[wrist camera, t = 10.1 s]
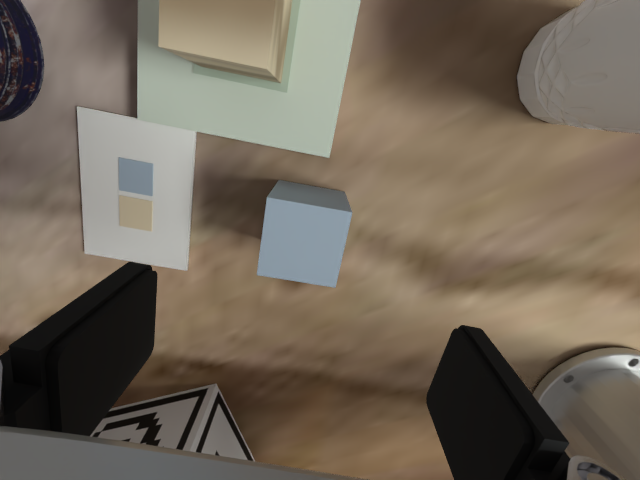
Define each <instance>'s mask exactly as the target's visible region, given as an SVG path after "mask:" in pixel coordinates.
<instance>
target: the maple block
mask: <svg viewBox="0 0 640 480" xmlns="http://www.w3.org/2000/svg"><path fill="white" fill-rule="evenodd" d="M291 7H292V0H159V43H158V47H160V48H163V49H165V50H167V51H169V52H171V53H173V54H176V55H178V56H180V57H182V58H184V59H186V60H188V61H191V62H193V63H195V64H197V65H199V66H201V67H205V68H210V69H215V70H219V71H224V72H229V73H234V74H239V75H244V76H248V77H253V78H258V79H263V80H268V81H273V82H277V83H281V81H282V74H283V67H284V59H285V52H286V44H287V37H288V30H289V22H290V15H291Z"/></svg>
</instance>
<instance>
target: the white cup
mask: <svg viewBox="0 0 640 480" xmlns="http://www.w3.org/2000/svg"><path fill="white" fill-rule="evenodd" d="M517 82H518V90H519V97H520V100H521V102H522V103H523V104H524V106H525V107H526V109H527V110H528V111H529V113H530V114H531V115H532V116H533V117H535V118H538V119H540V120H543V121H545V122H548V123H551V124H559V125H570V126H575V127H580V128H586V129H598V130H604V131H612V132H624V133H635V134H640V0H585V1H584V2H582V3H581V4H580V5H579V6H577V7H575V8H573V9H571V10H569V11H567V12H565V13H564V14H562V15H560V16H559V17H557V18H556V19H554V20H553V21H551V22H550V23H548V24H547V25H545V26H543V27H542V28H541V29H540V30H539V31H538V33H537V34H536V35H535V37H534V38H533V39H532V41H531V42H530V44H529V45H528V46H527V48H526V49H525V50H524V53H523V56H522V60H521V63H520V67H519V70H518V74H517Z"/></svg>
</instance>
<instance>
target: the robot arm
mask: <svg viewBox="0 0 640 480" xmlns="http://www.w3.org/2000/svg"><path fill="white" fill-rule="evenodd" d="M156 293H157V272H156V271H152V267H151V266H150V265H146V264H140V263H135V262H128V263H127V264H125V265H124V266H122V267H121V268H119V269H118V270H117V271H115V272H114V273H112V274H111V275H109V276H108V277H107V278H105V279H104V280H102V281H101V282H99V283H98V284H97V285H95V286H94V287H92V288H91V289H89V290H88V291H87V292H85V293H84V294H82V295H81V296H79V297H78V298H77V299H75V300H74V301H72V302H71V303H69V304H68V305H67V306H65V307H64V308H62V309H61V310H59V311H58V312H57V313H55V314H54V315H52V316H51V317H49V318H48V319H47V320H45V321H44V322H42V323H41V324H39V325H38V326H37V327H35V328H34V329H32V330H31V331H29V332H28V333H27V334H25V335H24V336H22V337H21V338H19V339H18V340H17V341H15V342H14V343H12V344H11V345H9V350H8V351H7V352H5V353H4V354H3V355H1V356H0V480H368V479H362V478H355V477H349V476H343V475H337V474H331V473H324V472H318V471H312V470H306V469H300V468H293V467H287V466H281V465H275V464H268V463H262V462H256V461H250V460H243V459H237V458H230V457H224V456H217V455H211V454H205V453H198V452H192V451H185V450H179V449H172V448H166V447H159V446H153V445H146V444H140V443H133V442H127V441H120V440H113V439H105V438H98V437H91V436H90V435H91V434H92V433H93V431H94V430H95V429H96V427H97V426H98V425H99V423H100V422H101V421H102V419H103V418H104V417H105V415H106V414H107V413H108V411H109V410H110V409H111V407H112V406H113V405H114V404H115V402H116V401H117V400H118V398H119V397H120V396H121V394H122V393H123V392H124V390H125V389H126V388H127V386H128V385H129V384H130V382H131V381H132V380H133V378H134V377H135V376H136V374H137V373H138V372H139V370H140V369H141V368H142V366H143V365H144V364H145V362H146V361H147V360H148V358H149V357H150V355H151V353H152V351H153V347H154V334H155V314H156ZM427 406H428V409H429V412H430V415H431V417H432V420H433V423H434V426H435V428H436V431H437V434H438V437H439V439H440V442H441V445H442V447H443V450H444V453H445V456H446V458H447V461H448V464H449V467H450V469H451V472H452V475H453V477H454V480H640V351H637V350H633V349H628V348H614V347H612V348H603V349H597V350H593V351H589V352H585V353H582V354H580V355H577V356H575V357H573V358H570V359H569V360H567V361H565V362H564V363H562V364H560V365H559V366H557V367H556V368H555V369H553V370H552V371H551V372H550V373H548V374H547V376H546V377H545V378H544V379H543V380H542V381H541V382H540V383H539V385H538V386H537V388H536V389H535V391H534V393H533V395H532V394H531V392H530V391H529V390H528V388H527V387H526V386H525V384H524V383H523V382H522V381H521V379H520V378H519V377H518V375H517V374H516V373H515V372H514V370H513V369H512V368H511V366H510V365H509V364H508V362H507V361H506V360H505V359H504V357H503V356H502V355H501V353H500V352H499V351H498V349H497V348H496V347H495V346H494V344H493V343H492V342H491V340H490V339H489V338H488V337H487V335H486V334H485V333H484V331H483V330H482V329H480V328H475V327H470V326H465V325H461V326H460V327H459V328H458V329H454V330H453V331H452V333H451V336H450V338H449V341H448V343H447V346H446V348H445V351H444V353H443V356H442V358H441V361H440V363H439V366H438V368H437V371H436V373H435V376H434V378H433V381H432V383H431V385H430V388H429V390H428V393H427Z"/></svg>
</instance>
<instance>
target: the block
mask: <svg viewBox="0 0 640 480" xmlns="http://www.w3.org/2000/svg"><path fill="white" fill-rule="evenodd" d="M90 436H91V437H98V438H105V439H113V440H120V441H127V442H133V443H140V444H146V445H153V446H159V447H166V448H172V449H179V450H185V451H192V452H198V453H205V454H211V455H217V456H224V457H230V458H237V459H243V460H250V461H255V460H254V458H253V456H252V454H251V452H250V450H249V448H248V446H247V444H246V442H245V440H244V438H243V436H242V434H241V432H240V430H239V428H238V426H237V424H236V422H235V420H234V418H233V416H232V414H231V412H230V410H229V408H228V406H227V404H226V402H225V400H224V398H223V396H222V394H221V392H220V390H219V388H218V386H217V384H212V385H207V386H203V387H199V388H195V389H191V390H186V391H182V392H178V393H174V394H170V395H165V396H161V397H157V398H153V399H148V400H144V401H140V402H136V403H132V404H127V405H123V406H119V407H115V408H111V409H110V410H109V411H108V413H107V414H106V415H105V417H104V418H103V419H102V421H101V422H100V423H99V425H98V426H97V427H96V429H95V430H94V431H93V433H92V434H91V435H90Z"/></svg>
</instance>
